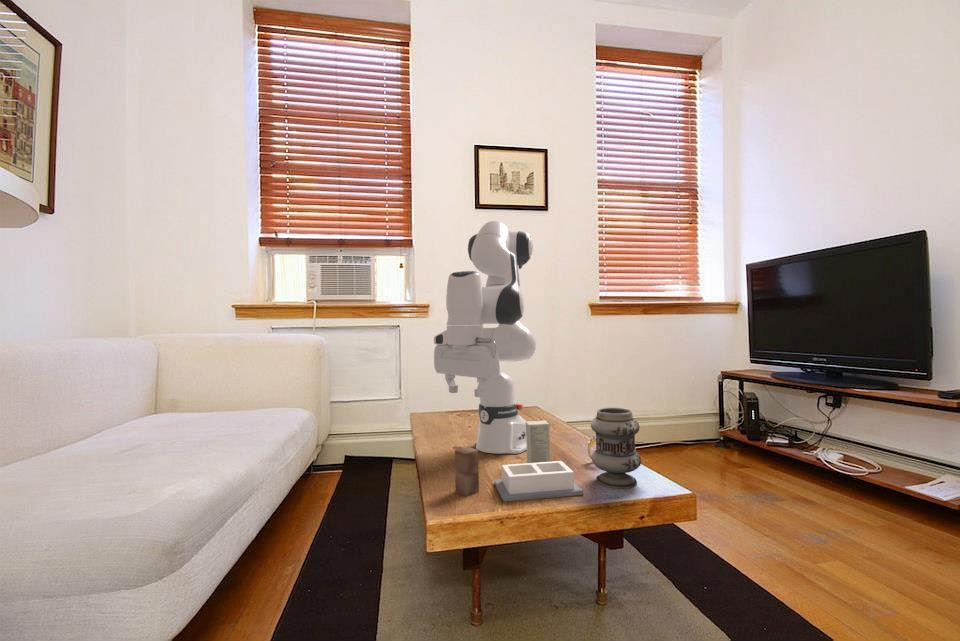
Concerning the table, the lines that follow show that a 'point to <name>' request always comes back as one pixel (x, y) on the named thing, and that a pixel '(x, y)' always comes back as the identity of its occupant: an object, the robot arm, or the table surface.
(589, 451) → the ring
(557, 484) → the slot rack
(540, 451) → the skincare box
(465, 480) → the walnut peg
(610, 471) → the apothecary jar
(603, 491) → the table surface
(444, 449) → the table surface
